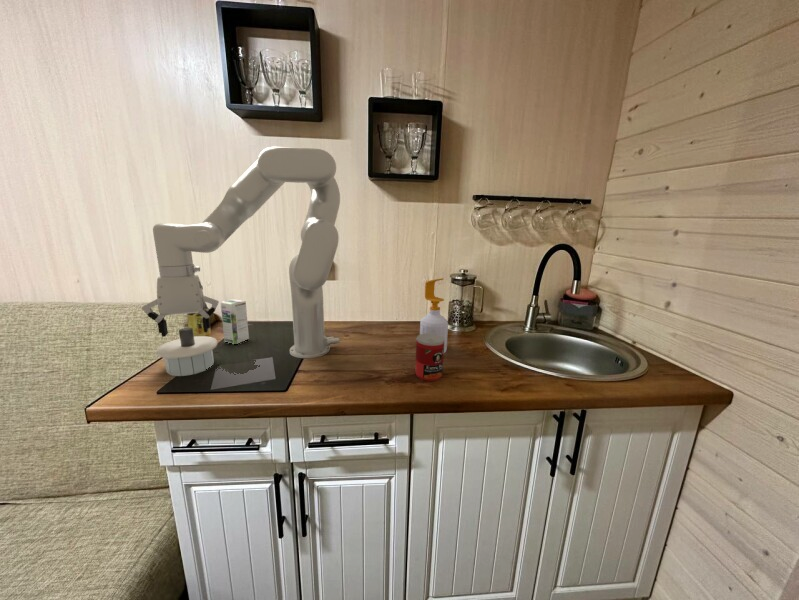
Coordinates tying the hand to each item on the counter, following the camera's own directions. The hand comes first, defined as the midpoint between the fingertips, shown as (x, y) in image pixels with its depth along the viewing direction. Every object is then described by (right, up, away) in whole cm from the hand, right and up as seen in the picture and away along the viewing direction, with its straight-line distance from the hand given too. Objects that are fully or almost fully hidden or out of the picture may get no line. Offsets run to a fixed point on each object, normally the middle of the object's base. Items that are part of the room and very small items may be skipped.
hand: (186, 332), depth 88 cm
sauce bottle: (-9, -6, +21) cm, 24 cm away
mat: (+16, -11, 0) cm, 20 cm away
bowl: (0, -10, +2) cm, 10 cm away
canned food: (+67, -12, +1) cm, 68 cm away
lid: (0, -4, +1) cm, 5 cm away
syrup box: (+2, -6, +23) cm, 24 cm away
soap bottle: (+70, -8, +19) cm, 73 cm away
